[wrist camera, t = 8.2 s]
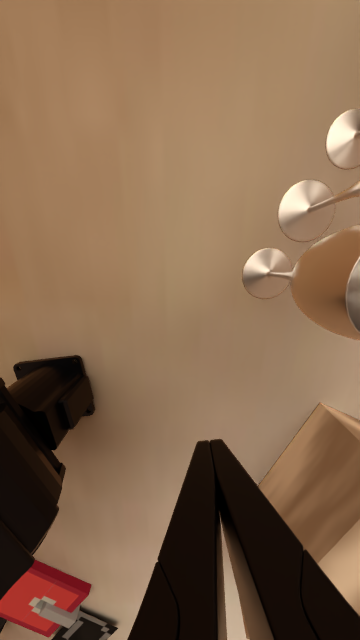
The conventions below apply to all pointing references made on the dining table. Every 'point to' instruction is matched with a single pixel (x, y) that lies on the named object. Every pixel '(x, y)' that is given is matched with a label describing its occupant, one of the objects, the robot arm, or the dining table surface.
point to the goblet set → (317, 244)
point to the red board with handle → (52, 605)
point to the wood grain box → (323, 496)
